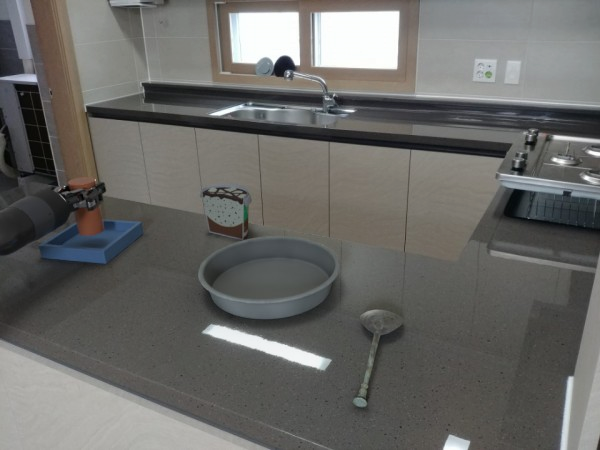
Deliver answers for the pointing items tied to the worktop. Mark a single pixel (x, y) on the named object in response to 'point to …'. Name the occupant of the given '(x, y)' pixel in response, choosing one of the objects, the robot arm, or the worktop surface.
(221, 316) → the worktop surface
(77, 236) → the tray
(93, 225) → the orange cylinder
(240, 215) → the food container
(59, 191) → the robot arm
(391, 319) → the soupspoon
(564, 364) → the worktop surface
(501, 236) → the worktop surface
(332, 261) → the cake pan
